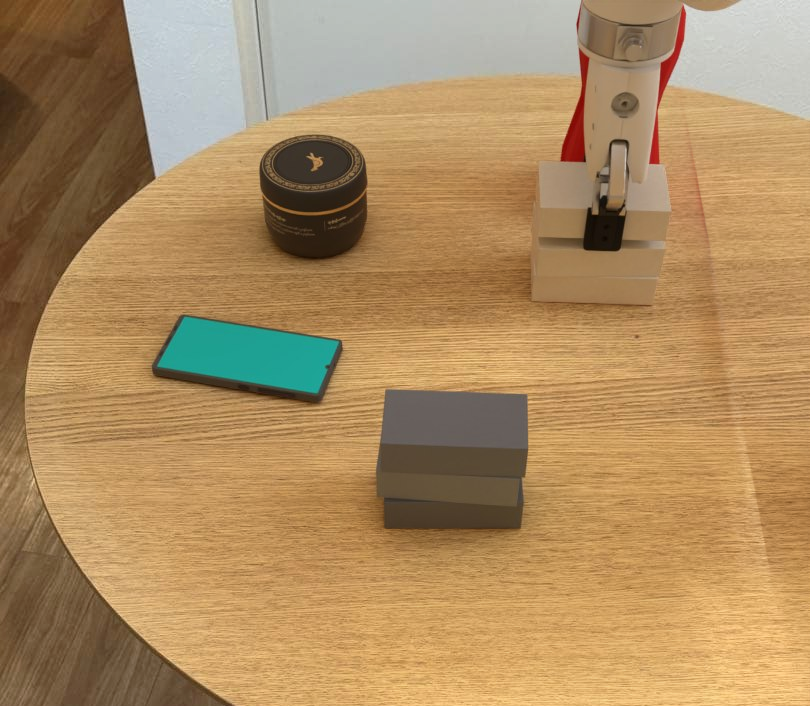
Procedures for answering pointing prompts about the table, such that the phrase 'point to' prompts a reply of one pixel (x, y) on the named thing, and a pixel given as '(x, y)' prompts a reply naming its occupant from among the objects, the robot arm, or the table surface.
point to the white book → (572, 195)
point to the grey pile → (452, 459)
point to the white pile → (593, 270)
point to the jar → (314, 195)
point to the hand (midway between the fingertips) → (599, 220)
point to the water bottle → (575, 135)
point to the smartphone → (248, 358)
